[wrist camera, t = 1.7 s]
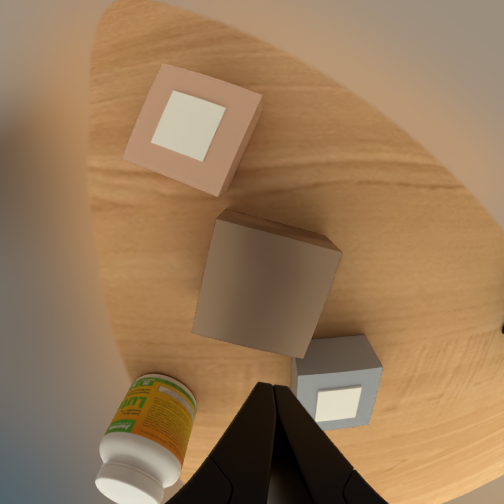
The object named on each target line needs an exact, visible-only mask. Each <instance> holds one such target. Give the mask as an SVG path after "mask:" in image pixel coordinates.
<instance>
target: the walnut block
mask: <svg viewBox="0 0 504 504" xmlns="http://www.w3.org/2000/svg"><path fill="white" fill-rule="evenodd" d="M341 256H342V252H341V251H340V250H339V249H338V248H337V247H336V246H335V245H334V244H333V243H332V242H331V241H330V240H329V239H328V238H327V237H326V236H324V235H320V234H317V233H313V232H310V231H306V230H303V229H299V228H295V227H292V226H288V225H284V224H281V223H277V222H273V221H269V220H266V219H262V218H258V217H254V216H251V215H247V214H243V213H239V212H235V211H231V210H227V209H225V210H224V211H223V212H222V214H221V215H220V216H219V217H218V218H217V219H216V222H215V227H214V231H213V235H212V239H211V244H210V248H209V252H208V257H207V261H206V266H205V270H204V275H203V279H202V284H201V289H200V293H199V298H198V303H197V307H196V312H195V317H194V322H193V327H192V332H191V333H194V334H197V335H201V336H205V337H208V338H212V339H216V340H220V341H224V342H228V343H232V344H236V345H241V346H245V347H249V348H253V349H258V350H262V351H267V352H272V353H276V354H281V355H286V356H291V357H296V358H302V359H303V358H304V355H305V353H306V351H307V348H308V346H309V343H310V341H311V338H312V336H313V333H314V331H315V328H316V326H317V323H318V320H319V318H320V315H321V313H322V310H323V307H324V305H325V302H326V299H327V296H328V294H329V291H330V288H331V285H332V282H333V280H334V277H335V274H336V271H337V268H338V265H339V262H340V259H341Z"/></svg>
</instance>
